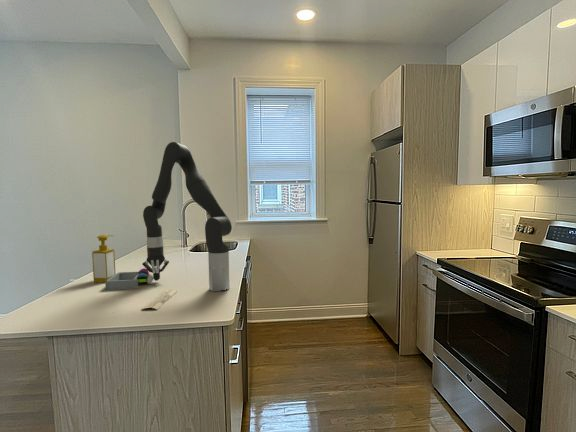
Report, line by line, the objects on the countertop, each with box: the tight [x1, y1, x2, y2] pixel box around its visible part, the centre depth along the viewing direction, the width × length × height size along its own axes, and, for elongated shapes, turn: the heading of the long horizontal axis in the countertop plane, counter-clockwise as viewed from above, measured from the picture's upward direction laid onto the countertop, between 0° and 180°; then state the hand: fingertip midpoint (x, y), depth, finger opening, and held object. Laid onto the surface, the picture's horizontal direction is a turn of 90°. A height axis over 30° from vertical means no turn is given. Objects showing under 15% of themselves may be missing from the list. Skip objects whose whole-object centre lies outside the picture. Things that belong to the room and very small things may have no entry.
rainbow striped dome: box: [133, 267, 154, 285], centre depth 171 cm, size 8×10×7 cm
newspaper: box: [140, 289, 177, 311], centre depth 144 cm, size 24×7×2 cm, turn 0°
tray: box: [104, 271, 139, 291], centre depth 170 cm, size 18×14×4 cm
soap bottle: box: [91, 234, 117, 284], centre depth 179 cm, size 7×13×24 cm, turn 174°
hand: (156, 280), depth 172 cm, fingers closed
